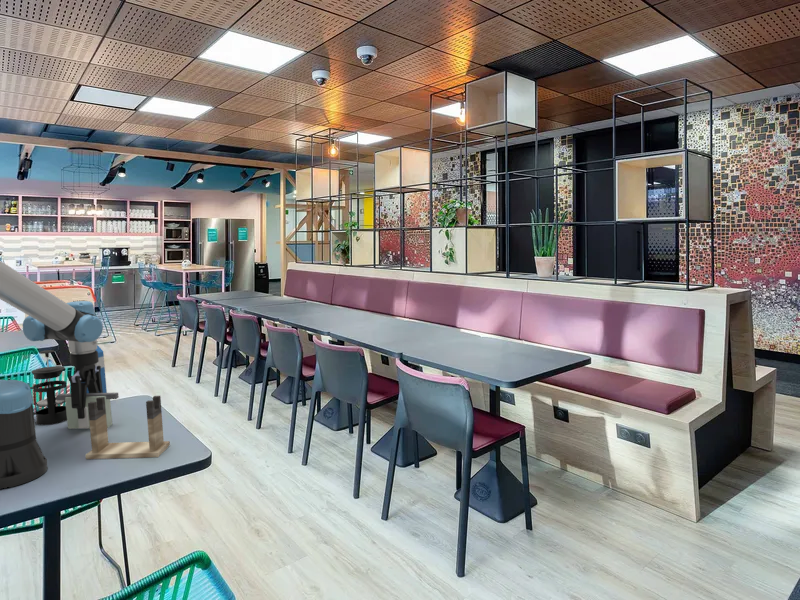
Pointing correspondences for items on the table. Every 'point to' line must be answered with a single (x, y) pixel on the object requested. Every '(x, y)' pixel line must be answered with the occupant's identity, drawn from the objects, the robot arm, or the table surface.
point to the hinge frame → (126, 449)
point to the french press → (49, 394)
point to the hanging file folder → (90, 397)
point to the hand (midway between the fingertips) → (90, 423)
